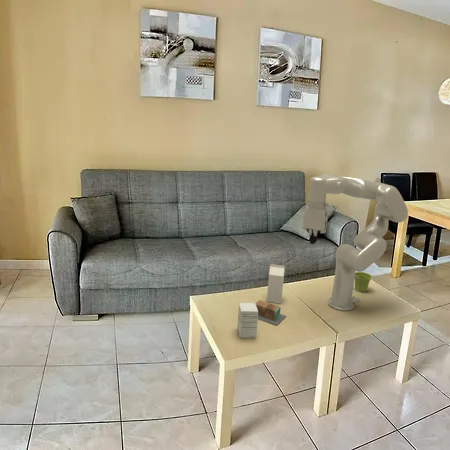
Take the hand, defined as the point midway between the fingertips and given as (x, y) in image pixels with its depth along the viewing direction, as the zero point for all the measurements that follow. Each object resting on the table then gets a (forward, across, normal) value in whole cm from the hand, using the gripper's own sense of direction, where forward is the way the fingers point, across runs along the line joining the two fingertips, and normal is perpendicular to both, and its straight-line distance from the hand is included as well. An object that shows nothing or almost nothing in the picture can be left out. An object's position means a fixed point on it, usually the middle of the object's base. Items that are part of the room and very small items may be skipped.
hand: (312, 243), depth 178 cm
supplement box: (+34, +14, +36) cm, 51 cm away
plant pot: (+36, -16, -40) cm, 56 cm away
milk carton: (+34, +17, 0) cm, 38 cm away
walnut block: (+31, +7, +17) cm, 36 cm away
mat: (+34, +12, +17) cm, 40 cm away
